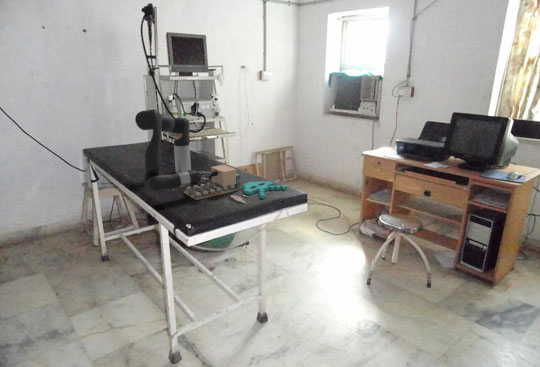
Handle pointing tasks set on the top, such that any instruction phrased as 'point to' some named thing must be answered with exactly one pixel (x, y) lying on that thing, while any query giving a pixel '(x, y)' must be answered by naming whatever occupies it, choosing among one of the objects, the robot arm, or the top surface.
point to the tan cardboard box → (224, 175)
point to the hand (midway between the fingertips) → (216, 173)
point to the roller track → (211, 189)
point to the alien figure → (260, 188)
